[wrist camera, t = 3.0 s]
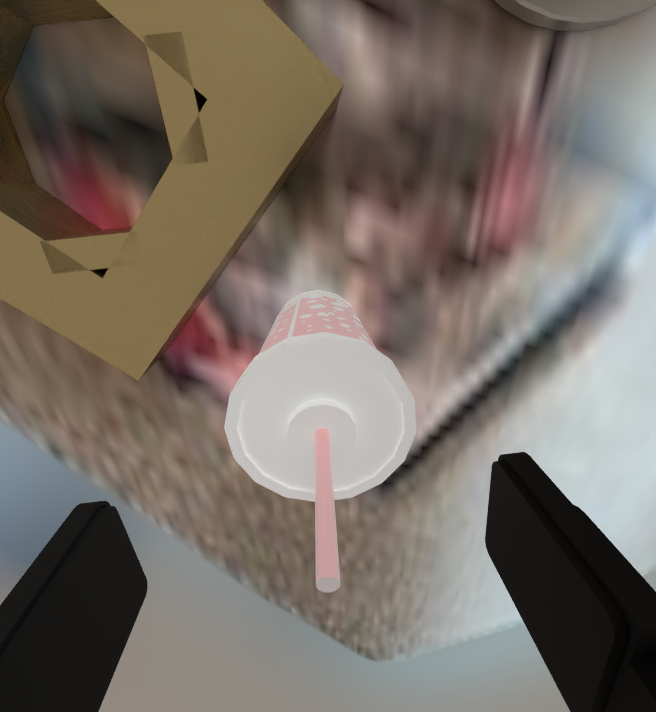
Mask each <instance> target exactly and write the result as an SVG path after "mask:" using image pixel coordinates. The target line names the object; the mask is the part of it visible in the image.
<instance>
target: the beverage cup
mask: <svg viewBox="0 0 656 712" xmlns="http://www.w3.org/2000/svg"><path fill="white" fill-rule="evenodd" d="M224 429H225V432H226V435H227V439H228V442H229V445H230V448H231V451H232V454H233V457H234V459H235V460H236V461H237V462H238V464H239V465H240V466H241V467H242V468H243V469H244V470H245V471H246V472H247V473H248V475H249V476H250V477H251V478H252V479H253V480H254V481H255V482H256V483H258V484H260V485H262V486H264V487H266V488H268V489H270V490H272V491H274V492H276V493H278V494H280V495H282V496H284V497H287V498H294V499H300V500H307V501H313V502H315V540H316V587H317V589H318V590H319V591H322V592H327V593H328V592H333V591H336V590H337V589H338V588H339V587H340V572H339V558H338V545H337V531H336V517H335V503H334V500H338V499H345V498H352V497H354V496H356V495H358V494H360V493H362V492H364V491H367V490H369V489H371V488H373V487H375V486H377V485H379V484H381V483H383V482H384V481H385V480H386V479H387V478H388V477H389V476H390V475H391V474H392V473H393V472H394V471H395V470H396V469H397V468H398V467H399V466H400V465H401V464H402V463H403V462H404V461H405V459H406V456H407V454H408V451H409V449H410V447H411V444H412V442H413V439H414V437H415V434H416V432H417V429H416V412H415V400H414V398H413V396H412V394H411V392H410V390H409V389H408V387H407V385H406V384H405V382H404V380H403V378H402V377H401V375H400V373H399V371H398V370H397V368H396V367H395V365H394V363H393V362H392V360H390V359H389V358H388V357H386V356H385V355H383V354H382V353H380V352H379V351H378V350H377V349H376V347H375V346H374V344H373V342H372V340H371V339H370V337H369V335H368V334H367V332H366V330H365V329H364V327H363V325H362V323H361V322H360V320H359V318H358V317H357V315H356V313H355V312H354V310H353V308H352V306H351V305H350V304H349V303H348V302H347V301H345V300H344V299H343V298H341V297H340V296H338V295H337V294H334V293H330V292H326V291H321V290H317V291H310V292H304V293H301V294H299V295H298V296H296V297H295V298H293V299H291V300H290V301H288V302H287V303H286V305H285V306H284V308H283V309H282V310H281V312H280V313H279V315H278V316H277V318H276V321H275V323H274V325H273V327H272V329H271V331H270V333H269V335H268V337H267V339H266V341H265V343H264V345H263V347H262V349H261V351H260V353H259V354H258V355H257V356H255V357H254V359H253V360H252V362H251V363H250V364H249V366H248V367H247V369H246V370H245V371H244V373H243V374H242V375H241V377H240V378H239V380H238V381H237V382H236V384H235V387H234V388H233V390H232V391H231V394H230V396H229V402H228V408H227V414H226V421H225V427H224Z"/></svg>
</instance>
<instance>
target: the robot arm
mask: <svg viewBox="0 0 656 712" xmlns="http://www.w3.org/2000/svg"><path fill="white" fill-rule="evenodd" d="M494 1H495V2H496V3H497V4H498V5H499V6H500V7H501V8H503V9H505V10H506V11H508V12H510V13H511V14H513V15H515V16H516V17H518V18H520V19H522V20H523V21H525V22H527V23H530V24H533V25H537V26H541V27H544V28H548V29H551V30H564V31H585V30H589V29H594V28H598V27H603V26H607V25H611V24H615V23H617V22H619V21H621V20H624V19H626V18H628V17H630V16H632V15H635V14H637V13H639V12H641V11H643V10H645V9H647V8H649V7H651V6H652V5H654V4H656V0H494ZM485 542H486V548H487V551H488V554H489V556H490V558H491V560H492V562H493V564H494V565H495V567H496V569H497V571H498V573H499V575H500V577H501V579H502V581H503V583H504V585H505V587H506V589H507V591H508V592H509V594H510V596H511V598H512V600H513V602H514V604H515V606H516V608H517V610H518V612H519V614H520V616H521V617H522V619H523V621H524V623H525V625H526V627H527V629H528V631H529V633H530V635H531V637H532V639H533V641H534V643H535V644H536V646H537V648H538V650H539V652H540V654H541V656H542V658H543V660H544V662H545V664H546V666H547V668H548V669H549V671H550V673H551V675H552V677H553V679H554V681H555V683H556V685H557V687H558V689H559V691H560V693H561V695H562V696H563V698H564V700H565V702H566V704H567V706H568V708H569V710H570V712H656V592H655V591H654V590H653V588H652V587H651V586H650V585H649V584H648V583H647V582H646V580H645V579H644V578H643V577H642V576H641V575H640V574H639V573H638V572H637V570H636V569H635V568H634V567H633V566H632V565H631V564H630V563H629V562H628V560H627V559H626V558H625V557H624V556H623V555H622V554H621V553H620V552H619V550H618V549H617V548H616V547H615V546H614V545H613V544H612V543H611V542H610V540H609V539H608V538H607V537H606V536H605V535H604V534H603V533H602V532H601V530H600V529H599V528H598V527H597V526H596V525H595V524H594V523H593V522H592V520H591V519H590V518H589V517H588V516H587V515H586V514H585V513H584V512H583V511H582V510H581V509H580V508H579V507H577V506H575V505H573V504H572V503H571V502H570V501H569V500H568V499H567V498H566V496H565V495H564V494H563V493H562V492H561V491H560V490H559V488H558V487H557V486H556V485H555V484H554V483H553V482H552V481H551V479H550V478H549V477H548V476H547V475H546V474H545V473H544V471H543V470H542V469H541V468H540V467H539V466H538V465H537V464H536V462H535V461H534V460H533V459H532V458H531V457H530V456H529V455H528V454H527V453H525V452H520V453H512V454H503V455H500V456H499V458H498V461H496V462H493V464H492V472H491V483H490V493H489V504H488V515H487V525H486V536H485ZM146 593H147V579H146V576H145V574H144V572H143V570H142V567H141V565H140V562H139V560H138V558H137V556H136V553H135V551H134V548H133V546H132V544H131V541H130V539H129V537H128V534H127V532H126V530H125V527H124V525H123V522H122V520H121V518H120V516H119V513H118V511H117V509H116V508H115V507H114V506H110V504H109V503H108V502H107V501H99V502H91V503H83V504H79V505H77V506H76V507H75V508H74V509H73V511H72V512H71V513H70V515H69V516H68V517H67V519H66V520H65V521H64V522H63V524H62V525H61V527H60V528H59V529H58V530H57V532H56V533H55V534H54V536H53V537H52V538H51V540H50V541H49V542H48V544H47V545H46V546H45V547H44V549H43V550H42V551H41V553H40V554H39V555H38V557H37V558H36V559H35V561H34V562H33V563H32V565H31V566H30V567H29V569H28V570H27V571H26V572H25V574H24V575H23V576H22V578H21V579H20V580H19V582H18V583H17V584H16V585H15V587H14V588H13V589H12V591H11V592H10V594H9V595H8V596H7V597H6V599H5V600H4V601H3V603H2V604H1V605H0V712H98V711H99V708H100V706H101V704H102V701H103V699H104V696H105V694H106V691H107V689H108V687H109V684H110V682H111V679H112V677H113V674H114V672H115V669H116V667H117V664H118V662H119V660H120V657H121V655H122V652H123V650H124V648H125V645H126V642H127V640H128V638H129V635H130V633H131V631H132V628H133V626H134V623H135V621H136V618H137V616H138V613H139V611H140V608H141V606H142V604H143V601H144V599H145V596H146Z"/></svg>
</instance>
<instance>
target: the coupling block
mask: <svg viewBox="0 0 656 712" xmlns="http://www.w3.org/2000/svg"><path fill="white" fill-rule="evenodd" d="M106 17H115V18H116V19H117V20H118V21H119V22H121V23H122V24H123V25H124V26H125V27H126V28H127V29H129V30H130V31H131V32H132V33H133V34H134V35H135V36H136V37H138V38H139V39H140V40H141V41H142V42H143V43H144V44H145V45H146V49H147V53H148V57H149V61H150V65H151V70H152V74H153V78H154V82H155V86H156V90H157V95H158V99H159V103H160V107H161V111H162V115H163V120H164V124H165V128H166V132H167V136H168V140H169V145H170V149H171V153H172V157H173V159H172V161H171V162H170V164H169V166H168V168H167V169H166V171H165V173H164V174H163V176H162V178H161V179H160V181H159V183H158V185H157V186H156V188H155V190H154V191H153V193H152V195H151V197H150V198H149V200H148V202H147V203H146V205H145V207H144V209H143V210H142V212H141V214H140V215H139V217H138V219H137V221H136V222H135V224H134V226H133V227H132V228H123V229H114V230H105V231H101V230H100V229H99V228H97V227H96V226H94V225H93V224H91V223H90V222H89V221H87V220H86V219H84V218H83V217H81V216H80V215H79V214H77V213H76V212H74V211H73V210H71V209H70V208H69V207H67V206H66V205H64V204H63V203H61V202H60V201H59V200H57V199H56V198H54V197H53V196H51V195H50V194H49V193H47V192H46V191H44V190H43V189H41V188H40V187H39V186H37V185H36V184H35V182H34V180H33V177H32V175H31V172H30V169H29V167H28V164H27V162H26V159H25V156H24V154H23V151H22V149H21V146H20V143H19V141H18V138H17V136H16V133H15V131H14V128H13V125H12V123H11V120H10V118H9V115H8V112H7V110H6V107H5V105H4V102H3V98H4V96H5V93H6V91H7V88H8V86H9V83H10V81H11V79H12V76H13V74H14V71H15V69H16V66H17V64H18V61H19V59H20V57H21V54H22V52H23V49H24V47H25V44H26V42H27V39H28V37H29V34H30V32H31V30H32V27H33V25H42V24H51V23H60V22H69V21H78V20H87V19H96V18H106ZM343 86H344V84H343V83H342V82H341V81H340V80H339V79H338V78H337V77H336V76H335V75H334V74H333V73H332V72H331V71H330V70H329V69H328V68H327V67H326V66H325V65H324V64H323V63H322V61H321V60H320V59H319V58H318V57H317V56H316V55H315V54H314V53H313V52H312V51H311V50H310V49H309V48H308V47H307V46H306V45H305V44H304V43H303V42H302V41H301V40H300V39H299V38H298V37H297V36H296V35H295V34H294V33H293V32H292V31H291V30H290V29H289V28H288V27H287V26H286V25H285V24H284V22H283V21H282V20H281V19H280V18H279V17H278V16H277V15H276V14H275V13H274V12H273V11H272V10H271V9H270V8H269V7H268V6H267V5H266V4H265V3H264V2H263V1H262V0H0V299H2V300H4V301H5V302H7V303H9V304H10V305H12V306H14V307H15V308H17V309H19V310H20V311H22V312H24V313H25V314H27V315H29V316H30V317H32V318H34V319H35V320H37V321H39V322H41V323H42V324H44V325H46V326H47V327H49V328H51V329H52V330H54V331H56V332H57V333H59V334H61V335H62V336H64V337H66V338H67V339H69V340H71V341H72V342H74V343H76V344H78V345H79V346H81V347H83V348H84V349H86V350H88V351H89V352H91V353H93V354H94V355H96V356H98V357H99V358H101V359H103V360H104V361H106V362H108V363H109V364H111V365H113V366H115V367H116V368H118V369H120V370H121V371H123V372H125V373H126V374H128V375H130V376H131V377H133V378H135V379H136V380H138V381H139V380H140V378H141V377H142V376H143V375H144V374H145V373H146V372H147V371H148V370H149V369H150V368H151V366H152V365H153V364H154V363H155V362H156V361H157V360H158V359H159V358H160V357H161V356H162V355H163V353H164V352H165V351H166V350H167V349H168V348H169V347H170V346H171V344H172V343H173V342H174V340H175V339H176V337H177V336H178V334H179V333H180V332H181V330H182V329H183V327H184V326H185V324H186V323H187V322H188V320H189V319H190V317H191V316H192V314H193V313H194V312H195V310H196V309H197V307H198V306H199V305H200V303H201V302H202V300H203V299H204V297H205V296H206V295H207V293H208V292H209V290H210V289H211V287H212V286H213V285H214V283H215V282H216V280H217V279H218V277H219V276H220V275H221V273H222V272H223V270H224V269H225V268H226V266H227V265H228V263H229V262H230V260H231V259H232V258H233V256H234V255H235V253H236V252H237V250H238V249H239V248H240V246H241V245H242V243H243V242H244V240H245V239H246V238H247V236H248V235H249V233H250V232H251V231H252V229H253V228H254V226H255V225H256V223H257V222H258V221H259V219H260V218H261V216H262V215H263V213H264V212H265V211H266V209H267V208H268V206H269V205H270V203H271V202H272V201H273V199H274V198H275V196H276V195H277V194H278V192H279V191H280V189H281V188H282V186H283V185H284V184H285V182H286V181H287V179H288V178H289V176H290V175H291V174H292V172H293V171H294V169H295V168H296V166H297V165H298V164H299V162H300V161H301V159H302V158H303V157H304V155H305V154H306V152H307V151H308V149H309V148H310V147H311V145H312V144H313V142H314V141H315V139H316V138H317V137H318V135H319V134H320V132H321V131H322V129H323V128H324V127H325V125H326V124H327V122H328V121H329V120H330V118H331V117H332V115H333V114H334V112H335V111H336V110H337V106H338V103H339V100H340V96H341V93H342V89H343Z"/></svg>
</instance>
